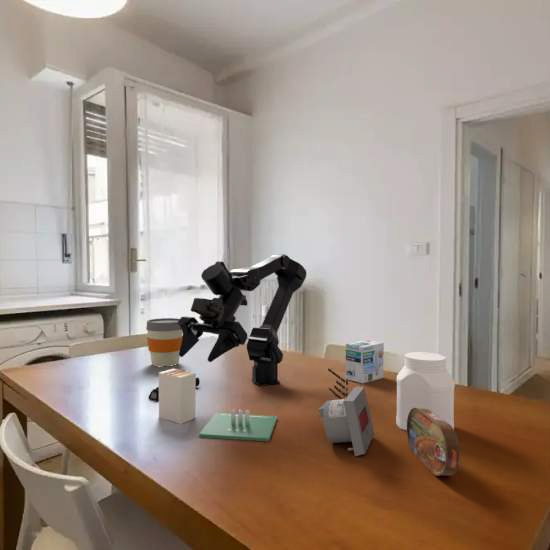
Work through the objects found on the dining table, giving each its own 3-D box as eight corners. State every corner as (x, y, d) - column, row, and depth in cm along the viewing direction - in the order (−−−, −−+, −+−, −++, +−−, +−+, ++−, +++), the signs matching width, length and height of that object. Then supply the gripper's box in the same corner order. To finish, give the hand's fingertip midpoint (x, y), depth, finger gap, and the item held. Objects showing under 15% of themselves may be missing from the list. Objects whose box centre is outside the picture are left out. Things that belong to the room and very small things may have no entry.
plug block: (173, 411, 96) (173, 367, 96) (195, 417, 93) (195, 372, 92) (158, 417, 93) (158, 371, 93) (180, 423, 89) (180, 376, 89)
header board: (215, 415, 94) (215, 399, 94) (277, 418, 92) (277, 402, 92) (198, 436, 82) (198, 418, 82) (268, 441, 80) (269, 422, 80)
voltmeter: (392, 455, 75) (393, 400, 75) (332, 461, 72) (332, 404, 72) (340, 406, 101) (340, 365, 101) (294, 409, 98) (294, 368, 98)
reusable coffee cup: (167, 358, 151) (167, 317, 151) (191, 363, 144) (191, 320, 144) (138, 364, 141) (138, 320, 141) (162, 370, 134) (162, 324, 134)
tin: (405, 444, 79) (405, 401, 79) (420, 444, 79) (421, 400, 79) (443, 486, 64) (444, 432, 64) (463, 486, 64) (463, 432, 64)
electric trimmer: (203, 389, 116) (203, 378, 116) (156, 403, 103) (156, 390, 103) (193, 387, 118) (194, 375, 118) (147, 400, 106) (147, 387, 106)
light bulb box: (362, 384, 119) (363, 346, 119) (344, 379, 125) (344, 343, 124) (384, 377, 127) (384, 342, 126) (366, 373, 132) (366, 339, 131)
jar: (460, 427, 88) (461, 356, 88) (443, 441, 81) (444, 364, 80) (408, 413, 96) (408, 349, 95) (388, 425, 88) (389, 355, 88)
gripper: (183, 284, 106) (147, 333, 97) (240, 287, 96) (206, 341, 87) (204, 312, 113) (173, 360, 104) (260, 318, 102) (231, 371, 93)
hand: (194, 358), depth 97 cm, fingers open, 9 cm apart
